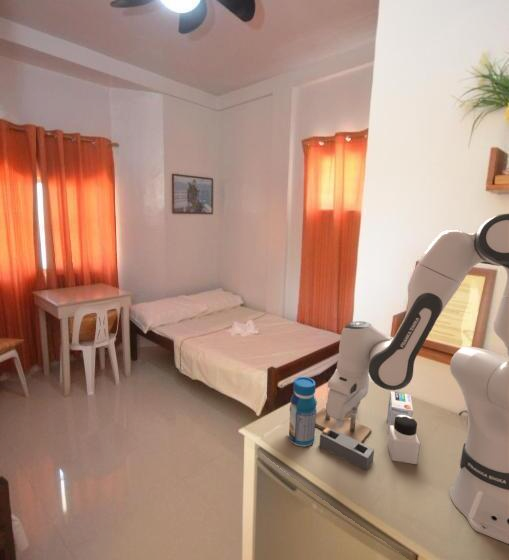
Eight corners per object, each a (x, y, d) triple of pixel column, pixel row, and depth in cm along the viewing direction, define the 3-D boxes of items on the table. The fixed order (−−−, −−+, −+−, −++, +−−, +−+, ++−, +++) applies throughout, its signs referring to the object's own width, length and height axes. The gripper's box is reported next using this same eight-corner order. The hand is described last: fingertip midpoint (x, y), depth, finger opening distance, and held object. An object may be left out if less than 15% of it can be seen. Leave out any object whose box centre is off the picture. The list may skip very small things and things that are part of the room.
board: (371, 432, 110) (373, 412, 109) (358, 447, 103) (360, 427, 101) (323, 410, 121) (324, 392, 120) (308, 423, 114) (309, 404, 113)
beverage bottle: (305, 451, 100) (309, 391, 96) (283, 439, 106) (285, 381, 102) (319, 438, 107) (323, 381, 103) (297, 426, 112) (300, 372, 108)
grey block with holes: (373, 460, 97) (374, 447, 96) (366, 470, 93) (367, 456, 93) (327, 437, 107) (328, 425, 106) (319, 445, 103) (320, 432, 102)
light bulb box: (386, 417, 118) (389, 390, 116) (407, 422, 116) (410, 394, 114) (387, 436, 108) (390, 406, 106) (409, 441, 106) (413, 411, 104)
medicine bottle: (417, 465, 96) (422, 428, 94) (391, 461, 97) (395, 424, 95) (411, 448, 103) (415, 413, 100) (387, 444, 104) (391, 410, 102)
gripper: (356, 362, 105) (352, 401, 108) (324, 383, 90) (320, 429, 93) (376, 368, 101) (370, 409, 104) (346, 392, 86) (340, 439, 89)
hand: (346, 419), depth 98 cm, fingers open, 8 cm apart
